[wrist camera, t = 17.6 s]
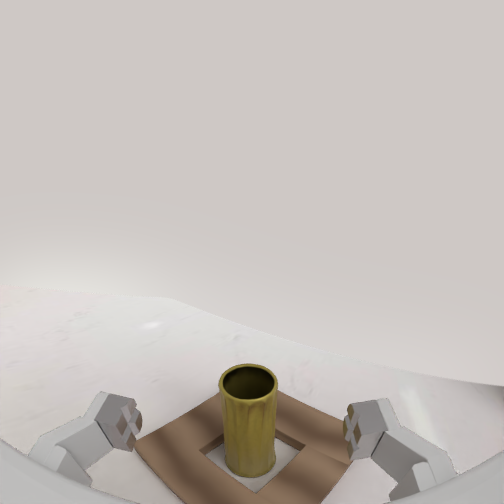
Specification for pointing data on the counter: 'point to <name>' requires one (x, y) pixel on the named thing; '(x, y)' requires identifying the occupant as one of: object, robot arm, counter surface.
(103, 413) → the robot arm
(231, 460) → the vase
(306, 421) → the socket
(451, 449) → the counter surface
